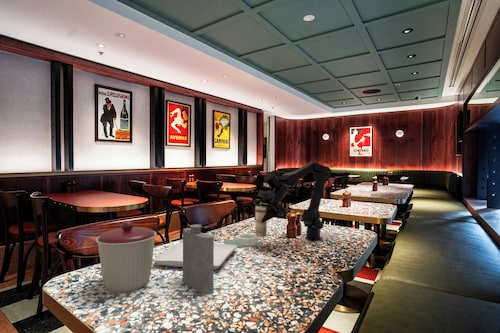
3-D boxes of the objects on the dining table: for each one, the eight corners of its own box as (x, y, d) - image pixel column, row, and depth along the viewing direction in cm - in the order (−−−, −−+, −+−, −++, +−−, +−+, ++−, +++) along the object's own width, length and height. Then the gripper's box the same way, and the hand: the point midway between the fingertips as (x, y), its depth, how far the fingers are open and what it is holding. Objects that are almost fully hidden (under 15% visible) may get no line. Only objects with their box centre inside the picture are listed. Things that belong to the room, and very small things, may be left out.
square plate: (219, 275, 99) (219, 264, 99) (149, 269, 105) (149, 259, 105) (237, 252, 126) (237, 243, 126) (181, 248, 131) (181, 240, 131)
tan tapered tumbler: (264, 233, 130) (264, 205, 130) (268, 236, 125) (268, 207, 125) (253, 234, 129) (253, 206, 129) (257, 237, 124) (257, 208, 124)
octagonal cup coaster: (251, 237, 148) (251, 231, 148) (264, 245, 135) (264, 238, 134) (219, 242, 140) (219, 235, 140) (229, 250, 127) (229, 242, 127)
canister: (82, 299, 82) (82, 227, 81) (114, 274, 100) (114, 215, 99) (143, 300, 81) (143, 228, 81) (164, 275, 99) (164, 216, 99)
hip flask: (215, 293, 85) (215, 228, 85) (204, 297, 83) (204, 230, 82) (189, 277, 97) (189, 220, 97) (178, 280, 94) (178, 222, 94)
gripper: (256, 182, 137) (236, 207, 131) (281, 185, 121) (260, 213, 115) (268, 197, 141) (250, 221, 135) (294, 201, 126) (275, 229, 120)
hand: (258, 221), depth 126 cm, fingers closed on tan tapered tumbler, 5 cm apart
